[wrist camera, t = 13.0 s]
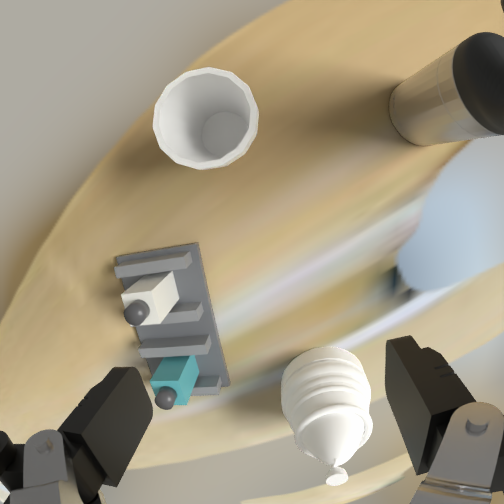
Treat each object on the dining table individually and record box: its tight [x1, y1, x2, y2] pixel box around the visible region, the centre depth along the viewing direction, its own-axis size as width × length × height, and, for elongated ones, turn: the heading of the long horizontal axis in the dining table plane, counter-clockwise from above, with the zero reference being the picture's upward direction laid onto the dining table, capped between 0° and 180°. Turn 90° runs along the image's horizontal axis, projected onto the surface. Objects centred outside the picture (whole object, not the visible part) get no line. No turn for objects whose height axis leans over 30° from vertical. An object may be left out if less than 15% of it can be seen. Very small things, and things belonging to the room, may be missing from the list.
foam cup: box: [153, 67, 259, 170], centre depth 32 cm, size 10×9×13 cm
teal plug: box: [150, 355, 199, 410], centre depth 41 cm, size 4×4×10 cm
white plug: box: [121, 271, 179, 326], centre depth 38 cm, size 4×4×10 cm
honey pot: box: [281, 347, 373, 486], centre depth 37 cm, size 13×13×18 cm
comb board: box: [114, 243, 230, 396], centre depth 43 cm, size 12×22×4 cm, turn 10°
